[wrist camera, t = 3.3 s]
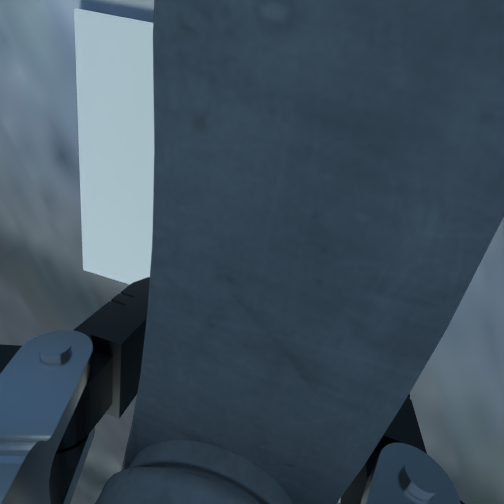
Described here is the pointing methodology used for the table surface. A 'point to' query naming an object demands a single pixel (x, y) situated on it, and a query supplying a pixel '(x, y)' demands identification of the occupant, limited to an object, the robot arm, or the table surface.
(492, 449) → the table surface
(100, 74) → the mat
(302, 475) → the hip flask
